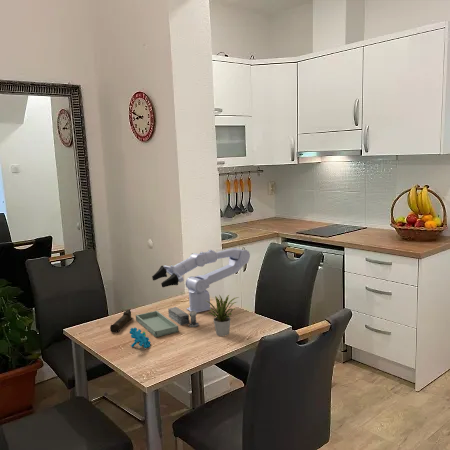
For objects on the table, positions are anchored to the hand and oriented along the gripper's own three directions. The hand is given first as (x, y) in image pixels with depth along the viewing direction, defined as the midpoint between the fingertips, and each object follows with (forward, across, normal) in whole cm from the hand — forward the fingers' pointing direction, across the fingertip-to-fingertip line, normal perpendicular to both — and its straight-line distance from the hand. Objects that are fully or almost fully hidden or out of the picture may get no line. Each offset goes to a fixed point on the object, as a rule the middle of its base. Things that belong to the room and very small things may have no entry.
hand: (157, 281), depth 204 cm
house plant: (-7, +38, +12) cm, 40 cm away
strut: (-1, +10, +17) cm, 20 cm away
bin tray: (+9, +9, +14) cm, 19 cm away
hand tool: (+20, -3, +15) cm, 25 cm away
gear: (+24, +23, +6) cm, 34 cm away
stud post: (-2, +20, +15) cm, 25 cm away
